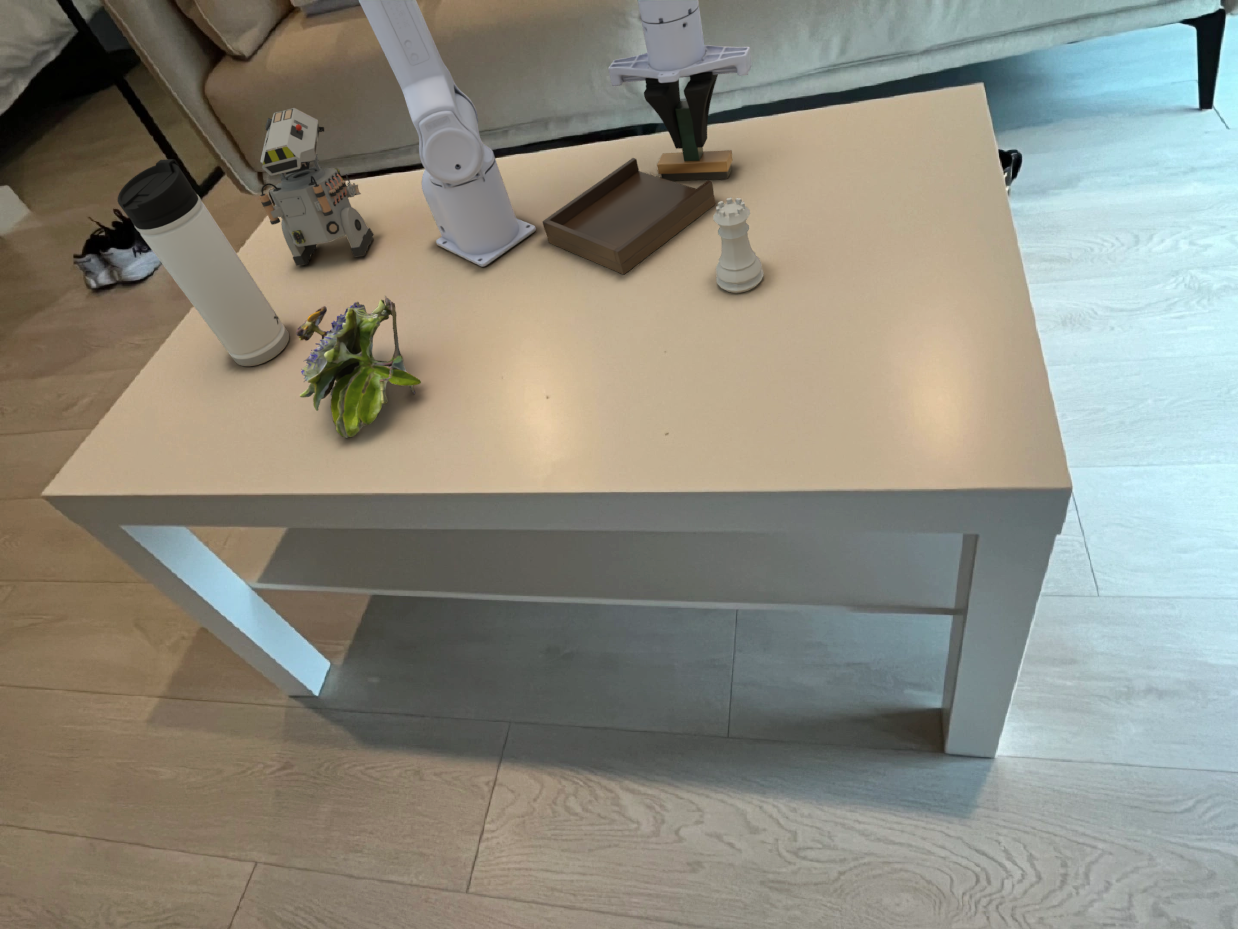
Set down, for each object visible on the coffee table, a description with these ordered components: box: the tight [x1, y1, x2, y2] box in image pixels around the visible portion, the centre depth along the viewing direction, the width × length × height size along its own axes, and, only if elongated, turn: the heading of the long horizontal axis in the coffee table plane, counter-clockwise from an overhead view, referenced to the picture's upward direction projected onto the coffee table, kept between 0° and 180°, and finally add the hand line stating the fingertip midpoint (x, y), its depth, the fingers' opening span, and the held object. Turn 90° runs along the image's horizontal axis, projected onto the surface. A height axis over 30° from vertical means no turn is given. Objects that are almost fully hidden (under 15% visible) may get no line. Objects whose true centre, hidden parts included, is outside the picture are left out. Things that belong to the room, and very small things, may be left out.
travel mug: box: [117, 158, 290, 367], centre depth 80 cm, size 6×7×20 cm
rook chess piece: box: [712, 196, 764, 294], centre depth 74 cm, size 4×4×8 cm
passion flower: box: [295, 295, 422, 439], centre depth 75 cm, size 11×11×12 cm
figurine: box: [258, 107, 375, 267], centre depth 94 cm, size 9×12×15 cm
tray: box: [541, 157, 716, 275], centre depth 87 cm, size 12×14×3 cm
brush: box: [656, 99, 734, 182], centre depth 89 cm, size 8×2×8 cm, turn 72°
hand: (691, 143), depth 89 cm, fingers closed on brush, 2 cm apart
